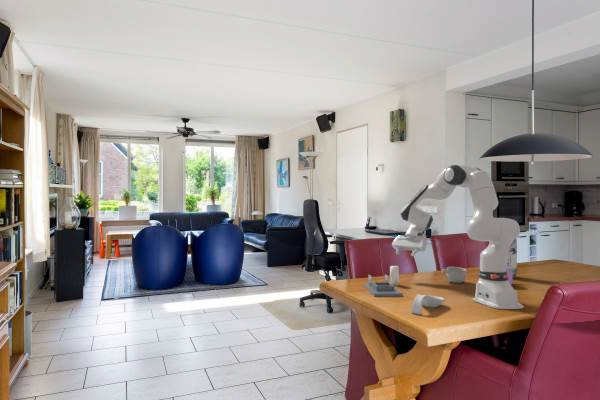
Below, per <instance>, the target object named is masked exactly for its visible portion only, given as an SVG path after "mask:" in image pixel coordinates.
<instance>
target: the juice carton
mask: <svg viewBox="0 0 600 400" xmlns="http://www.w3.org/2000/svg"><path fill="white" fill-rule="evenodd" d="M517 258H518V240H517V238H516V239H514V240H513V242H512V243H511V245H510V247H509V249H508V252H507V256H506V268H507V269H508V270H509V272H510V274H511V276H512V279H513V280H514V279H516V278H517V271H518V267H517V266H518V259H517Z"/></svg>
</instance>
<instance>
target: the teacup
mask: <svg viewBox="0 0 600 400" xmlns="http://www.w3.org/2000/svg"><path fill="white" fill-rule="evenodd" d="M444 272H445V273H444ZM445 274H446V275H445ZM441 275H442V276H443V277H444V278H445V279H446V280H448V281H449V282H450V283H453V284H462V283H464V282H465V281H466V278H467V269H466V268H463V267H459V266H447V267H446V268H442V270H441Z"/></svg>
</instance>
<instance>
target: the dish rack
mask: <svg viewBox="0 0 600 400" xmlns="http://www.w3.org/2000/svg"><path fill="white" fill-rule="evenodd" d="M372 277H373V276H372V275H371V274H368V282H363V287H364V288H365V289H366V290H367V291H368V292H369V293H370V294H371V295H372V296H373V297H376V298H380V297H382V298H383V297H384V298H385V297H387V298H388V297H403V296H404V295H403V294H404V293H403V292H402V291H400V290H399V289H397V288H396V287H395V285H393V284H391V283H390V281H389V275H387V274H384V281H372V279H373V278H372Z"/></svg>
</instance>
